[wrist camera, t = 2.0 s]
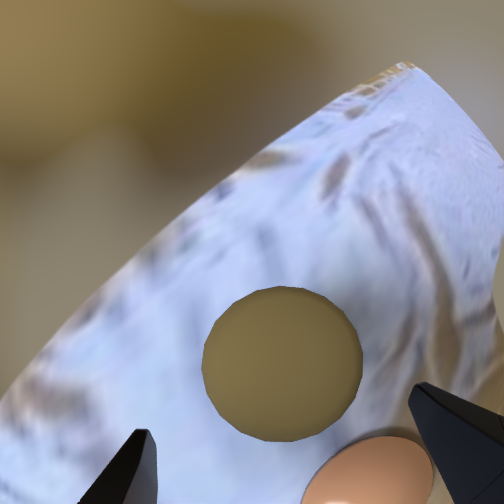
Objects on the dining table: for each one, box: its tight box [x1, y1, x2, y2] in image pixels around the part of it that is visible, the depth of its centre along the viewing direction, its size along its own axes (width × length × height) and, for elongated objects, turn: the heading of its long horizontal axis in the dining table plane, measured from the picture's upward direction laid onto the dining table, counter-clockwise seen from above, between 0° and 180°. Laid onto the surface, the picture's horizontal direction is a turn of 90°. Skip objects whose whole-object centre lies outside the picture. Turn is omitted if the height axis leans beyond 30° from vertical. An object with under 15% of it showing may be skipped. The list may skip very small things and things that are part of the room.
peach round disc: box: [300, 436, 433, 504], centre depth 13 cm, size 10×10×1 cm
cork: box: [201, 286, 363, 442], centre depth 12 cm, size 6×6×11 cm
